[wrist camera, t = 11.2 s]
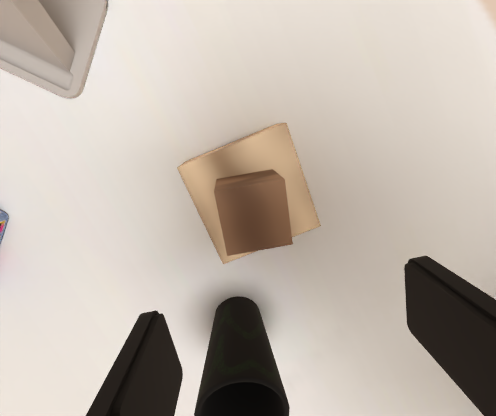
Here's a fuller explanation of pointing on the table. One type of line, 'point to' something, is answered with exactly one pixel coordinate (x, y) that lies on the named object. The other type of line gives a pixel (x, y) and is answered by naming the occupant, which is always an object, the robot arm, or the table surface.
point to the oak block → (243, 162)
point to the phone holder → (51, 41)
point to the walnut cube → (253, 211)
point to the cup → (240, 366)
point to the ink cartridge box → (3, 222)
